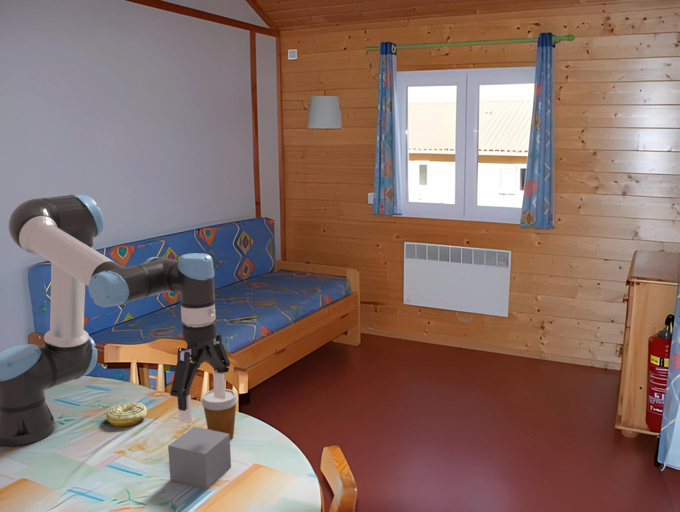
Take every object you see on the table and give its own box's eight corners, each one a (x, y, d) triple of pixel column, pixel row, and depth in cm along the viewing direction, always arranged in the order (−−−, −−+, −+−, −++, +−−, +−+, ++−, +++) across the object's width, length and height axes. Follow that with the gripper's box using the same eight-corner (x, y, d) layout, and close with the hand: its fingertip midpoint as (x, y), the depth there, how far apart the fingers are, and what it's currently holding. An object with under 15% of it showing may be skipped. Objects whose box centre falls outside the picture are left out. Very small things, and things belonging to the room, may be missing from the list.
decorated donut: (153, 420, 177) (152, 408, 176) (116, 432, 170) (115, 419, 169) (137, 408, 184) (136, 396, 184) (101, 419, 177) (100, 407, 177)
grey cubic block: (170, 479, 146) (168, 445, 144) (196, 458, 155) (194, 426, 154) (206, 489, 142) (205, 454, 141) (231, 467, 152) (229, 433, 150)
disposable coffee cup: (231, 447, 161) (229, 404, 158) (197, 444, 163) (195, 401, 160) (244, 430, 170) (243, 389, 168) (211, 427, 172) (209, 386, 169)
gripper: (178, 341, 128) (184, 436, 132) (242, 309, 151) (245, 391, 155) (149, 337, 131) (155, 430, 135) (216, 306, 153) (219, 386, 158)
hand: (203, 409), depth 145 cm, fingers open, 13 cm apart
